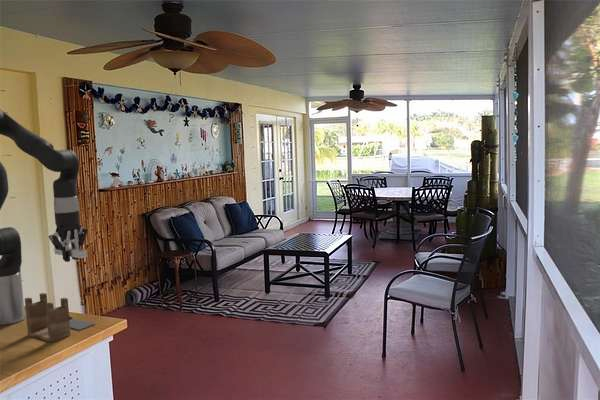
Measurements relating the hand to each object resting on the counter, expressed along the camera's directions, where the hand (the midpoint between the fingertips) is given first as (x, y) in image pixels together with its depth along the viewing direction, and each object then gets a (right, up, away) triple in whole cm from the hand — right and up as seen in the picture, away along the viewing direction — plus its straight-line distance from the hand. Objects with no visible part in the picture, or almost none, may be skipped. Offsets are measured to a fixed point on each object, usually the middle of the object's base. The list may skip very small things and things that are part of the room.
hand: (71, 260), depth 170 cm
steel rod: (0, +2, 0) cm, 2 cm away
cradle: (-5, -24, -4) cm, 25 cm away
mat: (+1, -23, +4) cm, 23 cm away
